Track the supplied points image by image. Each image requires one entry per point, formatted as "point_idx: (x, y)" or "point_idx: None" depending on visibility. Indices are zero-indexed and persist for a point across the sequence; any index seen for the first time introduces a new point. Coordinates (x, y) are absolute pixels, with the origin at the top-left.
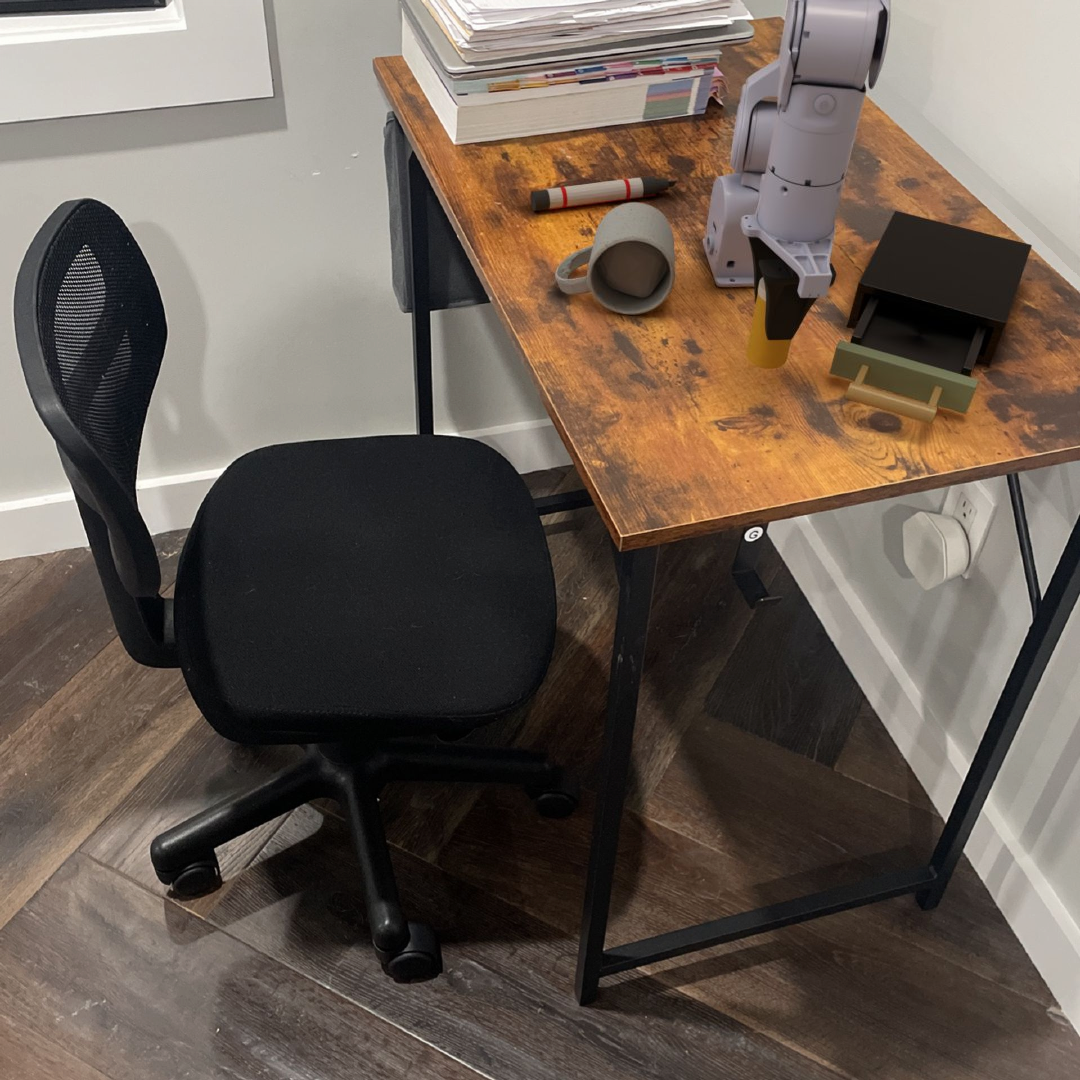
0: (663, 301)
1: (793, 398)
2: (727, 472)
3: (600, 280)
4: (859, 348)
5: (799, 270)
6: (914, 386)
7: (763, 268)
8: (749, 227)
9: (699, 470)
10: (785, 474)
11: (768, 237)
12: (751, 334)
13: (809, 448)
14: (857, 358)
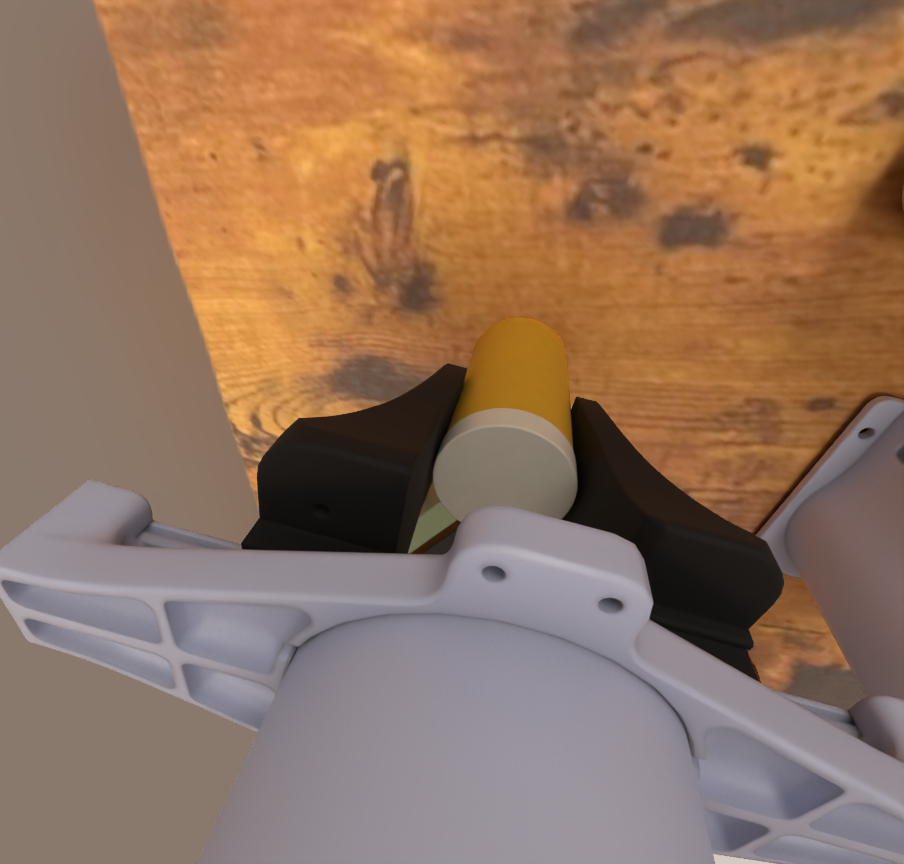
0: (902, 202)
1: (443, 365)
2: (238, 118)
3: None
4: (442, 519)
5: (72, 564)
6: None
7: (336, 454)
8: (482, 565)
9: (242, 41)
10: (236, 247)
11: (348, 594)
12: (526, 345)
13: (304, 325)
14: (429, 503)
